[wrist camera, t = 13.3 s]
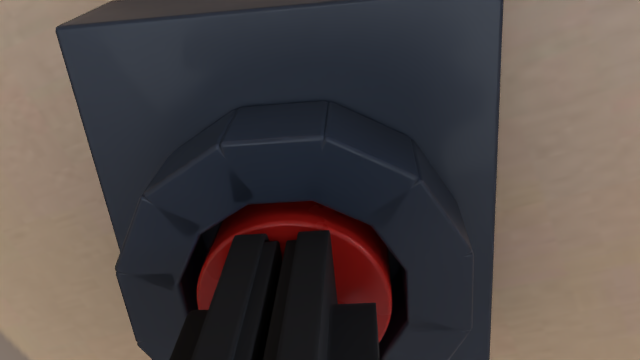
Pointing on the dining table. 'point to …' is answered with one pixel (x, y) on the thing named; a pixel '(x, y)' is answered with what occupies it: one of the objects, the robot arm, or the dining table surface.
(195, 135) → the button box
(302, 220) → the button
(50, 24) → the dining table surface
